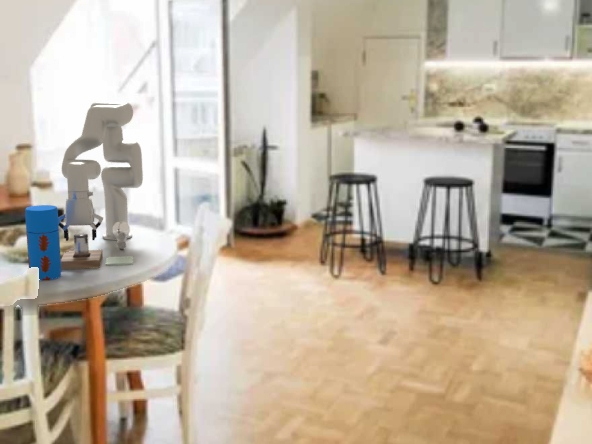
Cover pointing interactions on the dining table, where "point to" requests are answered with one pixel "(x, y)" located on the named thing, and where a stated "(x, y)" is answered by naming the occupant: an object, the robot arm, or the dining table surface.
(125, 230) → the light bulb
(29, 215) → the thermos
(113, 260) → the pad
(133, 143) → the robot arm
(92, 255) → the block
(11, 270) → the dining table surface
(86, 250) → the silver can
